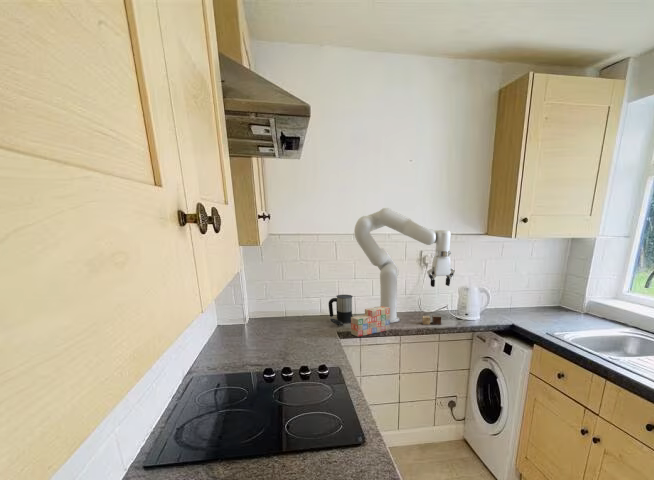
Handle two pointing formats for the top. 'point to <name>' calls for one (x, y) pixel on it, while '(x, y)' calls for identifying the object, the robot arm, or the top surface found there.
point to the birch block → (426, 320)
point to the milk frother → (341, 309)
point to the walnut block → (436, 319)
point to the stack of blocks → (371, 321)
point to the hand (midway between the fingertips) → (440, 286)
